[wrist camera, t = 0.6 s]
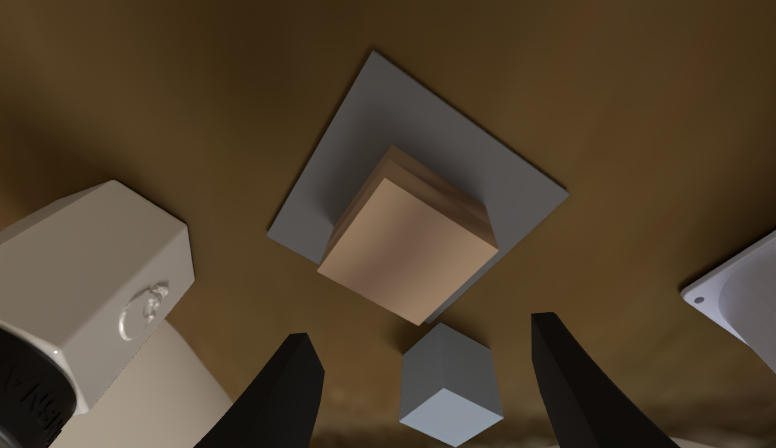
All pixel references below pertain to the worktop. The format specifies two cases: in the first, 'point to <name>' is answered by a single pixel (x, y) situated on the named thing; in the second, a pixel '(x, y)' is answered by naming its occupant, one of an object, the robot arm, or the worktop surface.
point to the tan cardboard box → (422, 174)
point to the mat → (426, 145)
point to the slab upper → (407, 245)
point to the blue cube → (449, 387)
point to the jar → (81, 303)
